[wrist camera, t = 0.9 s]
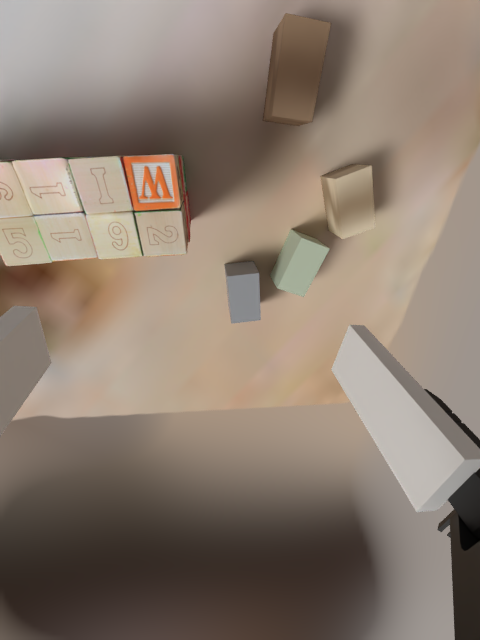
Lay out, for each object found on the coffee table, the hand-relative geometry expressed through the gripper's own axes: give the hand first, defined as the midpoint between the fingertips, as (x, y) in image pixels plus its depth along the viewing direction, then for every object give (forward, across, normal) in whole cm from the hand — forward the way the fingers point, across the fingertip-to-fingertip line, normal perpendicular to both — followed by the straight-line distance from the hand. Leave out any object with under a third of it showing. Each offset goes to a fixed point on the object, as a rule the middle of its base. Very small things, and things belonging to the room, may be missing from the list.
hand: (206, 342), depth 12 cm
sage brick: (+22, +11, -2) cm, 24 cm away
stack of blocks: (+22, -12, +2) cm, 25 cm away
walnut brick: (+22, +7, +13) cm, 27 cm away
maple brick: (+22, +15, +5) cm, 27 cm away
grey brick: (+22, +5, -7) cm, 23 cm away
